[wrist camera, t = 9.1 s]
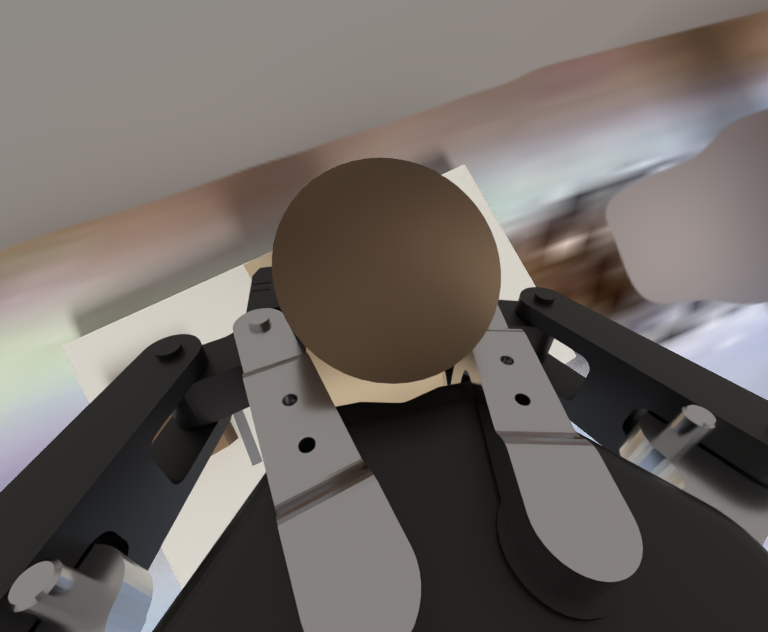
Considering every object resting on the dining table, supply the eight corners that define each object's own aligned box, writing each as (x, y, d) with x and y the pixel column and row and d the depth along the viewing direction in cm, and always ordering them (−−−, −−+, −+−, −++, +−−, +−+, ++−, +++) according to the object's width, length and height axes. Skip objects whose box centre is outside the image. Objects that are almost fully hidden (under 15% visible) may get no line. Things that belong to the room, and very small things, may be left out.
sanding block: (440, 385, 18) (662, 429, 6) (344, 446, 16) (384, 656, 5) (353, 230, 18) (399, -17, 6) (253, 276, 17) (78, 73, 5)
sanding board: (559, 356, 21) (576, 356, 20) (207, 591, 16) (194, 614, 15) (455, 177, 22) (464, 164, 20) (84, 347, 17) (60, 346, 15)
